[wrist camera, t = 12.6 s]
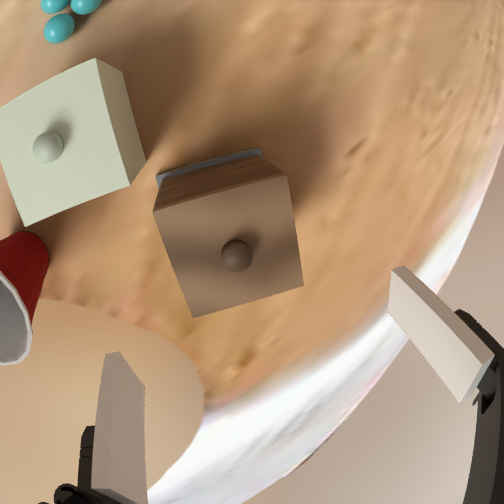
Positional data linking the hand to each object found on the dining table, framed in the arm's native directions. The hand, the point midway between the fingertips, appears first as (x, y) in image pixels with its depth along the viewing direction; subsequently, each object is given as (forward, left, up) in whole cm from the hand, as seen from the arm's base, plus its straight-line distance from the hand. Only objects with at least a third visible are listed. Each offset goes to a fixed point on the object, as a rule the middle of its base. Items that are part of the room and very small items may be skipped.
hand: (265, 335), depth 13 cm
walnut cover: (0, 0, -18) cm, 18 cm away
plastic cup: (-2, -22, -19) cm, 29 cm away
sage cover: (-11, -10, -19) cm, 24 cm away
